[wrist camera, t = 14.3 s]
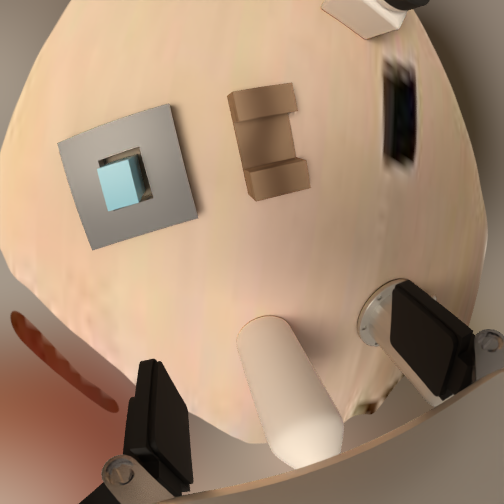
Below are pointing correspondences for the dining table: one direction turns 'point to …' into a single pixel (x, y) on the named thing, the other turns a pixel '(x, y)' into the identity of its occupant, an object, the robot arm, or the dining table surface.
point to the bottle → (288, 394)
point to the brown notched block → (267, 141)
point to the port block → (157, 169)
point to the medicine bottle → (371, 14)
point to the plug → (121, 182)
